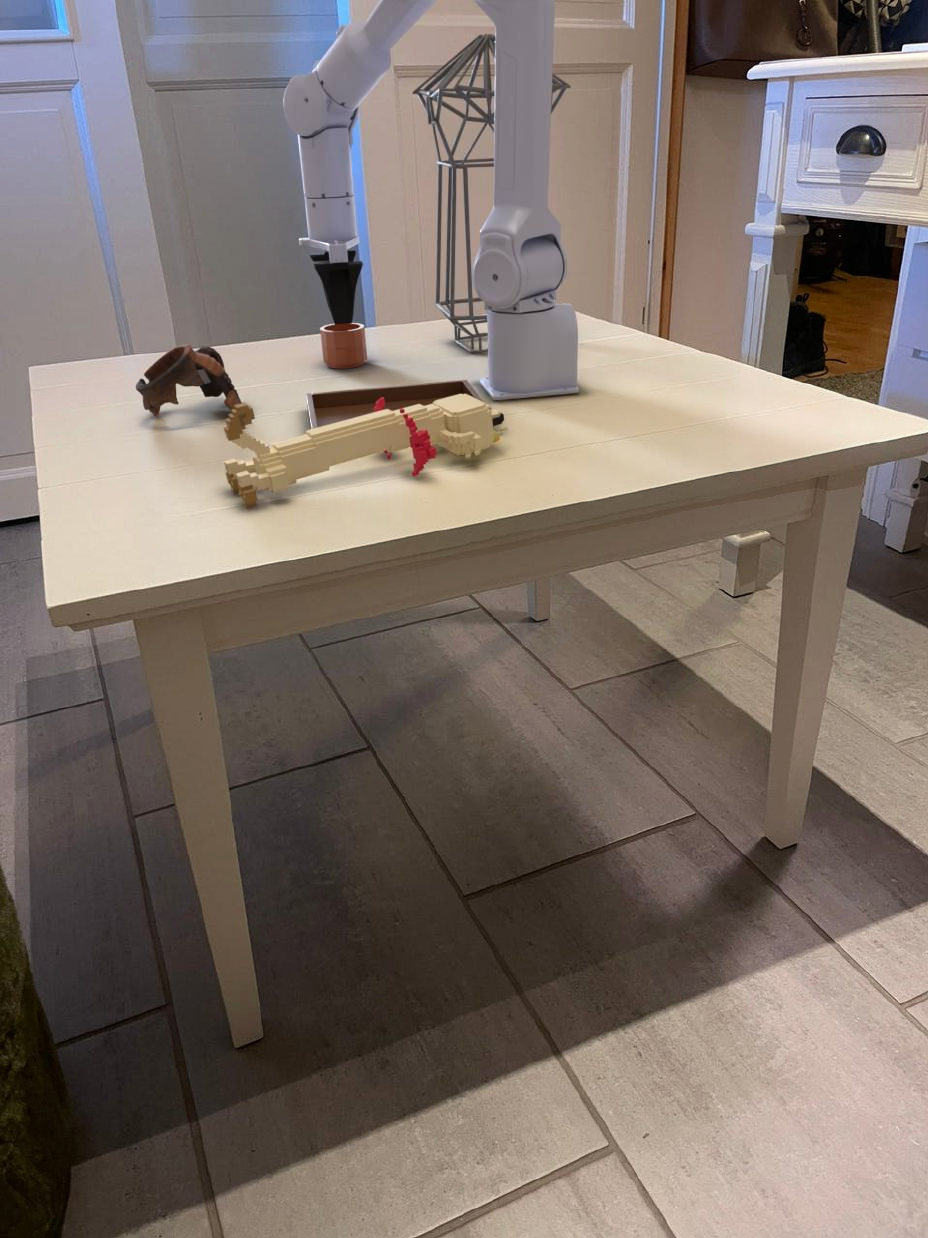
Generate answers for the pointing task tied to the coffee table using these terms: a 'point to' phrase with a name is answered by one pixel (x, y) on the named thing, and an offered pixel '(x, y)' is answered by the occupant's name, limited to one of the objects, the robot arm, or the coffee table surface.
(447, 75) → the geometric lantern
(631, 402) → the coffee table surface
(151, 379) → the broken pottery shard
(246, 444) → the cat figure
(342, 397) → the tray
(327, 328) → the cup
